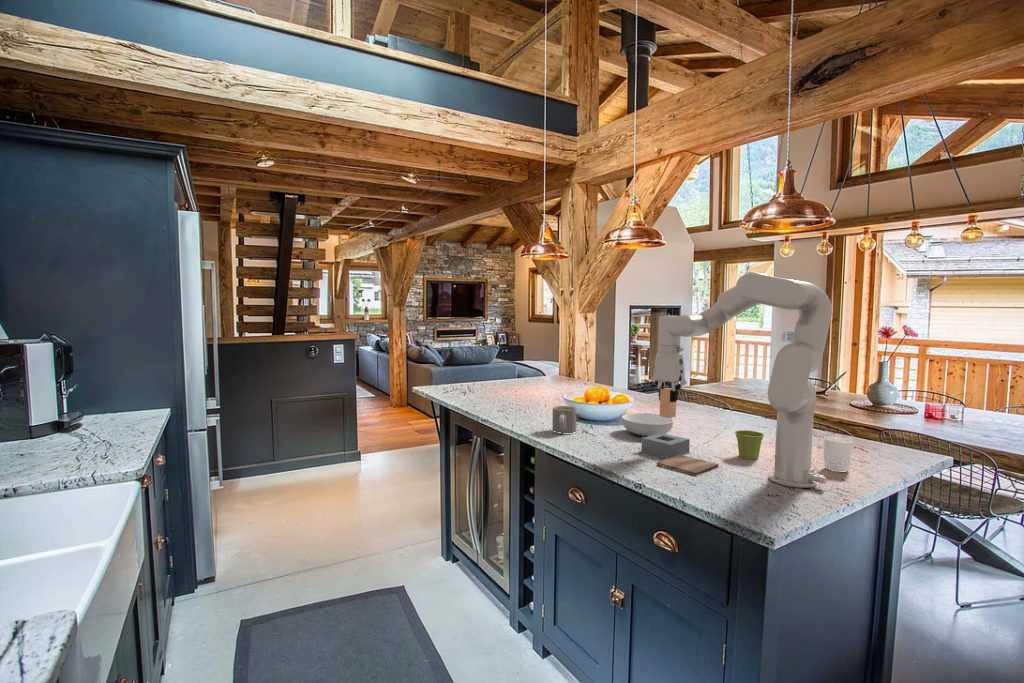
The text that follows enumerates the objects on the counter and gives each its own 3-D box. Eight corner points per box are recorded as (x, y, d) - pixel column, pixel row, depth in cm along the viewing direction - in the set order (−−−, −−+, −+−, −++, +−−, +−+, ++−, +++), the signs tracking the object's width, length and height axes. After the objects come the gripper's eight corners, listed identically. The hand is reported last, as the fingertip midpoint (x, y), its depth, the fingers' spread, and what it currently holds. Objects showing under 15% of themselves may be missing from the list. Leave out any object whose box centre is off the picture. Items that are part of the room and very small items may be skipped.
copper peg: (675, 416, 181) (676, 388, 180) (669, 418, 178) (670, 389, 178) (665, 414, 184) (666, 387, 183) (659, 416, 181) (660, 388, 181)
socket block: (689, 452, 182) (689, 439, 182) (670, 458, 174) (671, 444, 174) (660, 445, 191) (660, 432, 191) (641, 451, 183) (641, 437, 183)
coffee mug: (557, 427, 219) (557, 405, 218) (579, 430, 215) (579, 407, 214) (545, 434, 207) (545, 410, 207) (568, 437, 203) (568, 412, 202)
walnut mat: (718, 467, 165) (718, 464, 165) (696, 475, 156) (696, 472, 156) (679, 457, 176) (679, 454, 176) (657, 465, 167) (657, 462, 167)
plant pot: (727, 455, 179) (728, 431, 178) (745, 452, 183) (746, 428, 183) (751, 462, 170) (752, 437, 170) (769, 459, 175) (770, 434, 174)
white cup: (837, 474, 159) (839, 443, 158) (816, 467, 167) (817, 437, 166) (857, 472, 161) (858, 441, 160) (835, 465, 169) (836, 435, 168)
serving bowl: (628, 440, 199) (629, 423, 198) (616, 428, 219) (616, 412, 219) (680, 440, 199) (681, 423, 199) (663, 428, 220) (663, 412, 220)
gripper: (696, 350, 176) (695, 403, 177) (654, 348, 188) (653, 396, 189) (684, 351, 171) (683, 405, 172) (643, 349, 183) (642, 398, 184)
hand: (667, 400), depth 181 cm, fingers closed on copper peg, 4 cm apart
